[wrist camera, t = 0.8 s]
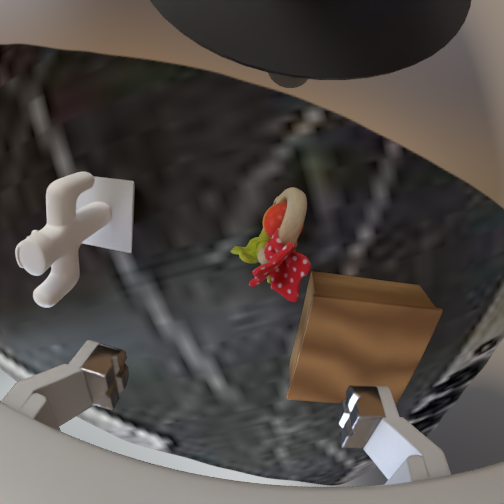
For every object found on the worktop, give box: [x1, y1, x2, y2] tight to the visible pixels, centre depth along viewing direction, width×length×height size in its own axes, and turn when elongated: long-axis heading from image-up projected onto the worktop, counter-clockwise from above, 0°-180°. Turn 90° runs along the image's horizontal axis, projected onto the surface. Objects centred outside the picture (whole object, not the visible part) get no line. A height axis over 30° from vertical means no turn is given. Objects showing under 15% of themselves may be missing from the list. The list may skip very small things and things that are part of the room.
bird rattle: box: [231, 187, 311, 302], centre depth 27 cm, size 6×11×9 cm
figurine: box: [15, 172, 135, 308], centre depth 26 cm, size 7×9×15 cm
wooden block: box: [287, 271, 443, 404], centre depth 33 cm, size 14×14×6 cm
